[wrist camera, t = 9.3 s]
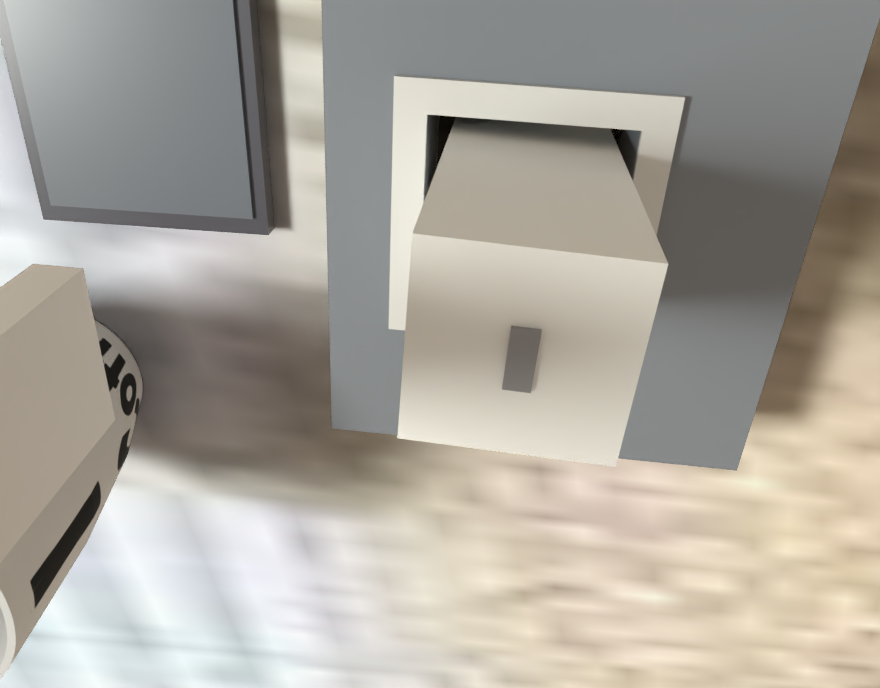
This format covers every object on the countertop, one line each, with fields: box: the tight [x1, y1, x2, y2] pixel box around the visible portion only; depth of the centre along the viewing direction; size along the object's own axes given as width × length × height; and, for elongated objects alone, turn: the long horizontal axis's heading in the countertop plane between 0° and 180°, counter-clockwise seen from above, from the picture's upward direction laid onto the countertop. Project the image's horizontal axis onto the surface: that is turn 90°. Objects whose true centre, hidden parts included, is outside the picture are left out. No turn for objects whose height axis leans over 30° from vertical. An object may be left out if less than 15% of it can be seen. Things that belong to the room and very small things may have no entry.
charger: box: [397, 117, 668, 467], centre depth 17 cm, size 4×4×10 cm
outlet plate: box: [322, 0, 880, 470], centre depth 19 cm, size 18×12×3 cm, turn 177°
